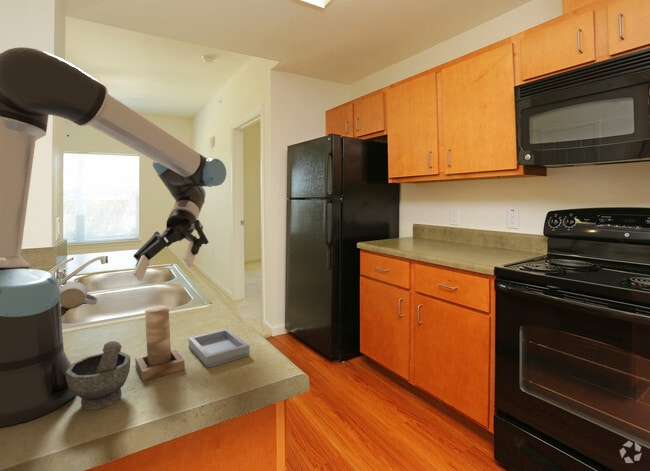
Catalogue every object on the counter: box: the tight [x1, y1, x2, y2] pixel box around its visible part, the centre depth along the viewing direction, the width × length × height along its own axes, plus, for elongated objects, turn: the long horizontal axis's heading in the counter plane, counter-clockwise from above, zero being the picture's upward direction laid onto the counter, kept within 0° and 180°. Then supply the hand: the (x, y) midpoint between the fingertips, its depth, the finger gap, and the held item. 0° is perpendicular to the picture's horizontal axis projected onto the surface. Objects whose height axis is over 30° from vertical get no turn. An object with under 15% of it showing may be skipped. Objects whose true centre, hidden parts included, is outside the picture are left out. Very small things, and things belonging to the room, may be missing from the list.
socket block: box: [134, 347, 186, 382], centre depth 75 cm, size 8×8×2 cm
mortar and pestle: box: [66, 340, 131, 410], centre depth 63 cm, size 11×9×12 cm
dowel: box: [144, 305, 172, 368], centre depth 75 cm, size 5×5×13 cm
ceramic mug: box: [59, 281, 99, 310], centre depth 117 cm, size 11×8×8 cm
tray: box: [188, 328, 250, 369], centre depth 83 cm, size 10×13×2 cm
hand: (162, 269), depth 85 cm, fingers open, 13 cm apart
